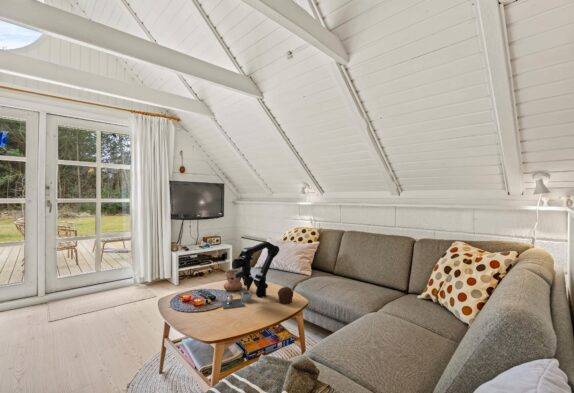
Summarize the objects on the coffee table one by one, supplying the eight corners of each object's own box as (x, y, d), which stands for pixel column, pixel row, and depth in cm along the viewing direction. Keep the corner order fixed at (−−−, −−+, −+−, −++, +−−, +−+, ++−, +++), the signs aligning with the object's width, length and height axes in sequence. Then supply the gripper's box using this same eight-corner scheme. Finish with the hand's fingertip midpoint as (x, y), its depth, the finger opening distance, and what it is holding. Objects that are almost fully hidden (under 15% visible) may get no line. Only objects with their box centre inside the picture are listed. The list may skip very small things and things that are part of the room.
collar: (249, 298, 208) (249, 291, 208) (251, 301, 202) (251, 294, 202) (241, 299, 206) (241, 292, 206) (243, 302, 200) (243, 295, 200)
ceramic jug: (232, 294, 215) (232, 275, 215) (218, 290, 223) (218, 272, 223) (248, 287, 230) (248, 270, 230) (235, 284, 238) (235, 267, 238)
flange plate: (240, 299, 205) (240, 292, 205) (244, 306, 193) (244, 298, 193) (220, 302, 200) (220, 295, 200) (223, 309, 189) (223, 301, 188)
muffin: (283, 297, 209) (283, 284, 209) (296, 301, 203) (296, 287, 203) (274, 303, 199) (274, 288, 199) (287, 306, 193) (287, 291, 193)
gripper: (232, 264, 210) (232, 285, 210) (237, 270, 192) (237, 294, 192) (247, 262, 213) (247, 283, 214) (253, 269, 196) (253, 292, 196)
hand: (246, 288), depth 204 cm, fingers open, 9 cm apart
